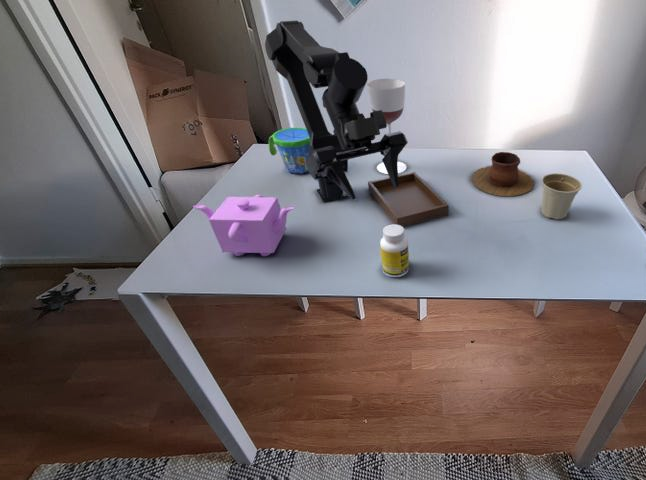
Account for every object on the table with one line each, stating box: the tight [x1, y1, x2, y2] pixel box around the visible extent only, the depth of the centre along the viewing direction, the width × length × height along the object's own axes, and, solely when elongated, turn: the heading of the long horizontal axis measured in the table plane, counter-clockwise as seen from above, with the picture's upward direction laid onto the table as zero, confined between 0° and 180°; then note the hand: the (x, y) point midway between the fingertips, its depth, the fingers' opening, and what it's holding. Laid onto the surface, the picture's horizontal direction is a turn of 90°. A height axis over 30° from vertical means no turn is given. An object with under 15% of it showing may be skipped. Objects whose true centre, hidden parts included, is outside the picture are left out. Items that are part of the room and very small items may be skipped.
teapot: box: [192, 194, 296, 257], centre depth 81 cm, size 15×13×11 cm
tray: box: [367, 171, 450, 228], centre depth 99 cm, size 20×14×3 cm
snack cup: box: [268, 126, 310, 175], centre depth 109 cm, size 16×10×10 cm
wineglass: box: [366, 78, 407, 175], centre depth 107 cm, size 9×10×23 cm
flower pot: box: [541, 172, 583, 220], centre depth 95 cm, size 9×9×9 cm
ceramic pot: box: [470, 151, 535, 197], centre depth 108 cm, size 18×18×7 cm
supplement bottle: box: [379, 223, 410, 278], centre depth 76 cm, size 5×5×10 cm
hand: (376, 193), depth 76 cm, fingers open, 9 cm apart
